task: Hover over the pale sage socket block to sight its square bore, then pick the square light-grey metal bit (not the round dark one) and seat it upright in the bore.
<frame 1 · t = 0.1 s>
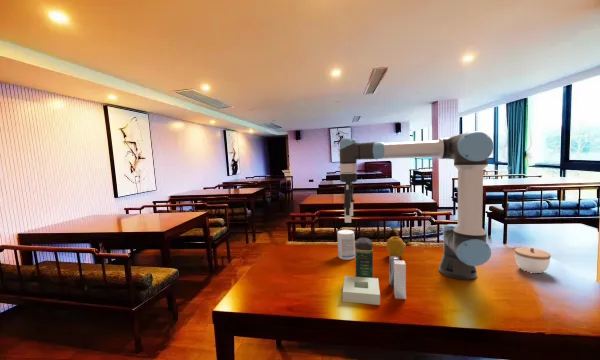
hand: (349, 219, 120), 28 cm above the table, fingers open, 13 cm apart
coffee jar: (364, 278, 121), on the table
apple: (395, 257, 146), on the table
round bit: (394, 284, 114), on the table
socket block: (361, 294, 107), on the table
supplement tub: (346, 257, 148), on the table
dishware bowl: (531, 271, 123), on the table
square bit: (399, 296, 105), on the table
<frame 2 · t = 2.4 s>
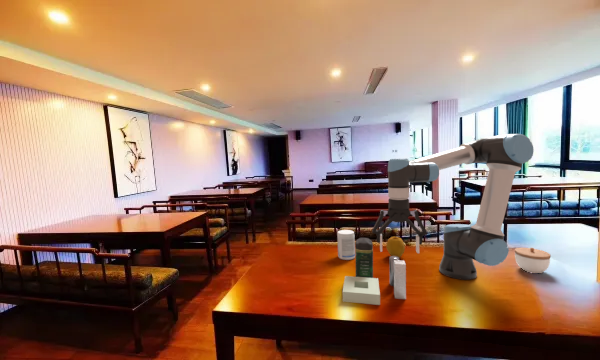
hand: (399, 251, 103), 18 cm above the table, fingers open, 13 cm apart
nothing on the table moved.
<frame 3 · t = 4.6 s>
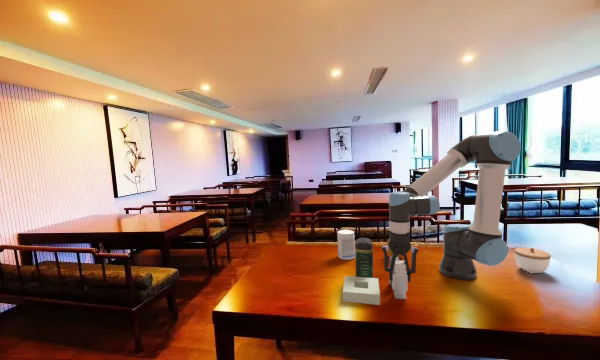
hand: (399, 288, 104), 3 cm above the table, fingers closed on square bit, 4 cm apart
square bit: (399, 296, 105), on the table, touching gripper
everything else where it was.
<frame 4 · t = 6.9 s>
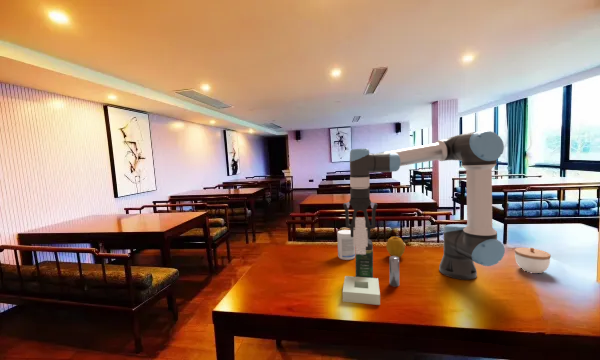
hand: (360, 244, 106), 21 cm above the table, fingers closed on square bit, 4 cm apart
square bit: (360, 252, 106), point 18 cm above the table, touching gripper
everything else where it was.
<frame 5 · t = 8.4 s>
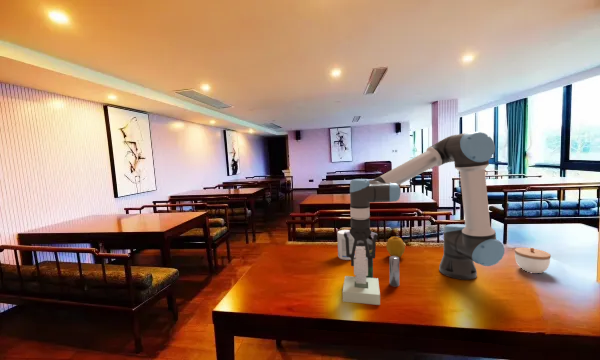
hand: (361, 273, 107), 9 cm above the table, fingers closed on square bit, 4 cm apart
square bit: (361, 281, 107), point 5 cm above the table, touching gripper
everything else where it was.
when the fingers open (5 cm above the table, at t = 9.4 s): square bit drops 1 cm, resting on socket block.
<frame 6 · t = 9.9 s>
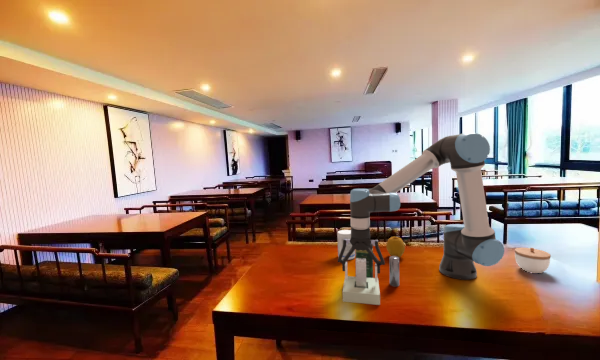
hand: (361, 279, 107), 6 cm above the table, fingers open, 11 cm apart
square bit: (361, 293, 107), resting on socket block
everything else where it was.
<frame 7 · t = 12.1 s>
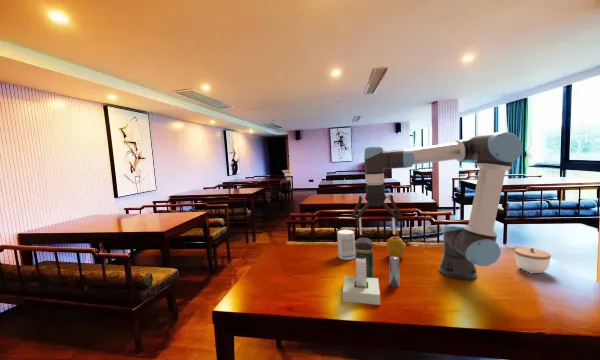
hand: (377, 233, 111), 24 cm above the table, fingers open, 13 cm apart
nothing on the table moved.
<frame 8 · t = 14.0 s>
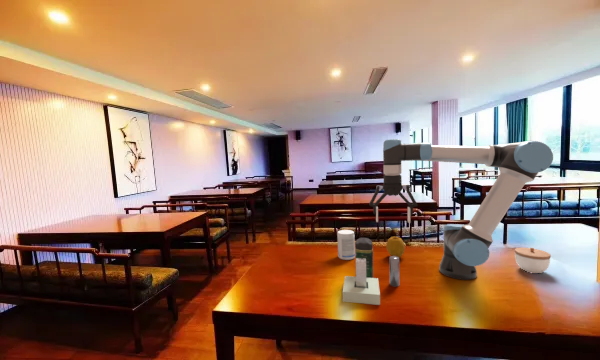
hand: (392, 221, 117), 27 cm above the table, fingers open, 13 cm apart
nothing on the table moved.
at the end: square bit 0.1 cm off-centre on the socket block, point 0.3 cm above the socket block's base; square bit tilted 0°; the gripper is holding nothing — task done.
